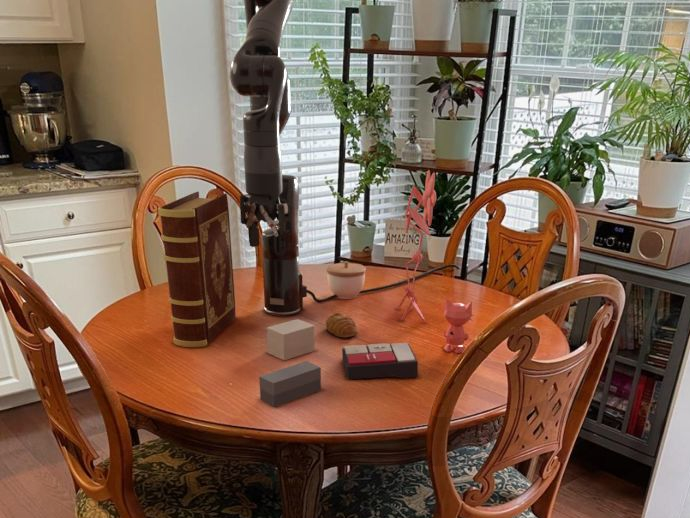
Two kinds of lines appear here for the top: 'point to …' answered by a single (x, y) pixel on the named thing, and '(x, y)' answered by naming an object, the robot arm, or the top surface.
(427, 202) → the figurine
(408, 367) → the grey and red box
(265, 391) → the gray sharpening stone
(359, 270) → the trinket box
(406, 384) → the top surface
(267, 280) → the robot arm
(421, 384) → the top surface
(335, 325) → the pastry
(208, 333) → the decorative book
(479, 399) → the top surface
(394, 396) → the top surface
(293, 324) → the beige flat block
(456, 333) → the cat figurine
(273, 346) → the light gray block
